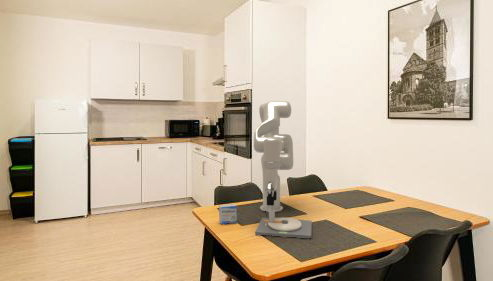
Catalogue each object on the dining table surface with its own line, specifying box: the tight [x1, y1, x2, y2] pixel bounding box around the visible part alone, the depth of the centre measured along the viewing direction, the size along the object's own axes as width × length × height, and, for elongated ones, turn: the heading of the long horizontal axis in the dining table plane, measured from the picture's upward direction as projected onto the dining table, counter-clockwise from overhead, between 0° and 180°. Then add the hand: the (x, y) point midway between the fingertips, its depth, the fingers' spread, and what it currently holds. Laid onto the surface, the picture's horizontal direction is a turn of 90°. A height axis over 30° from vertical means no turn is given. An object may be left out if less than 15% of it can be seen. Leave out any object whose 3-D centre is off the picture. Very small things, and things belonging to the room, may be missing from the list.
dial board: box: [254, 217, 313, 239], centre depth 148 cm, size 20×24×2 cm
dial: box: [264, 207, 301, 231], centre depth 148 cm, size 17×15×8 cm
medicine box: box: [218, 203, 238, 225], centre depth 157 cm, size 8×4×9 cm, turn 105°
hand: (271, 202), depth 148 cm, fingers open, 9 cm apart
